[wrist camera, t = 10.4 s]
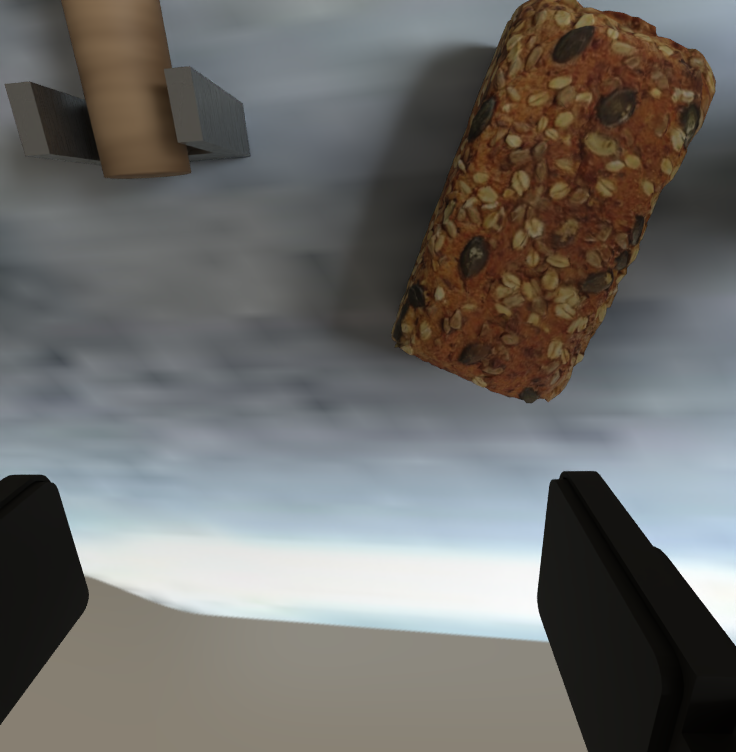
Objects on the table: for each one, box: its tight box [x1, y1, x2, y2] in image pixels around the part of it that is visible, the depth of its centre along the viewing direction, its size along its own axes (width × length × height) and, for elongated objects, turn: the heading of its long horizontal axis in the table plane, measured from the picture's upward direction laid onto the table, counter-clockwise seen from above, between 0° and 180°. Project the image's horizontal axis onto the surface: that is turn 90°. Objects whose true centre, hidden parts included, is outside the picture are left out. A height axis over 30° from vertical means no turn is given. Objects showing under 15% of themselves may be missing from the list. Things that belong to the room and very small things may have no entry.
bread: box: [391, 0, 716, 403], centre depth 28 cm, size 19×11×10 cm, turn 160°
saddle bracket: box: [5, 66, 250, 165], centre depth 27 cm, size 9×3×9 cm, turn 94°
